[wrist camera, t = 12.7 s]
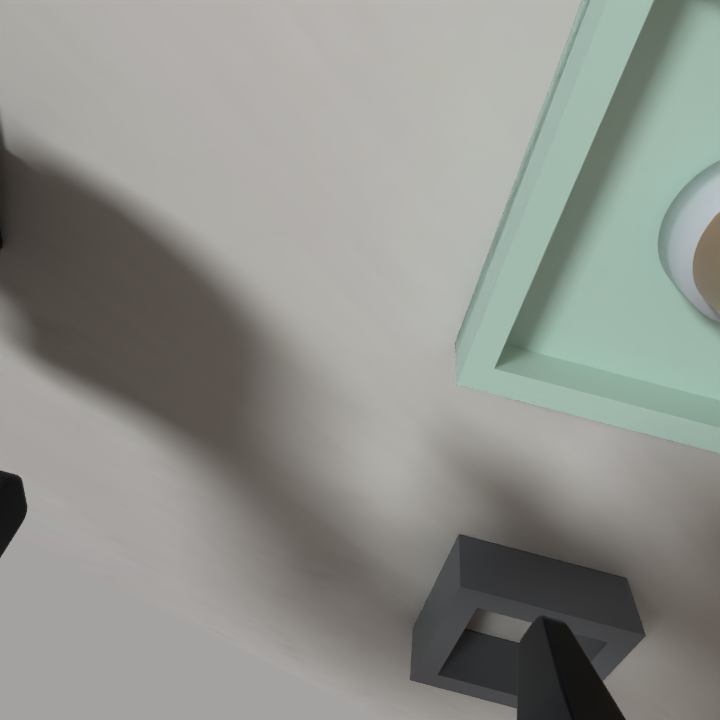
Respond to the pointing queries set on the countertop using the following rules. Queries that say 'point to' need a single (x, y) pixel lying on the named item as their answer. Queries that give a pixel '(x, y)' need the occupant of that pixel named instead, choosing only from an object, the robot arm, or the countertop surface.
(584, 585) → the fuse socket
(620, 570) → the countertop surface
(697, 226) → the disc
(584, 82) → the parts tray
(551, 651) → the robot arm
